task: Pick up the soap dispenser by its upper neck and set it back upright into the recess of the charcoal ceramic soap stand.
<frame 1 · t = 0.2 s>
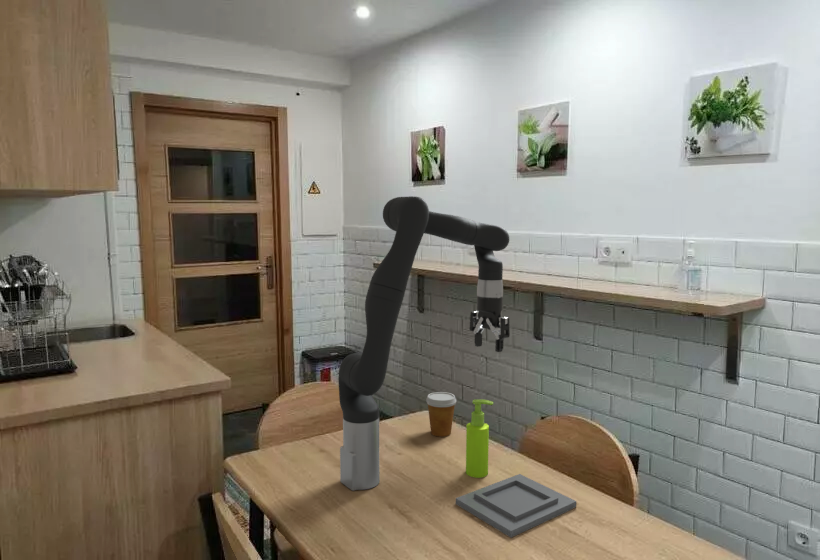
hand: (488, 348, 173), 29 cm above the table, tool pointing down, fingers open, 8 cm apart
disposable coffee cup: (440, 433, 184), on the table
soap dispenser: (478, 473, 156), on the table
soap stand: (515, 505, 139), on the table
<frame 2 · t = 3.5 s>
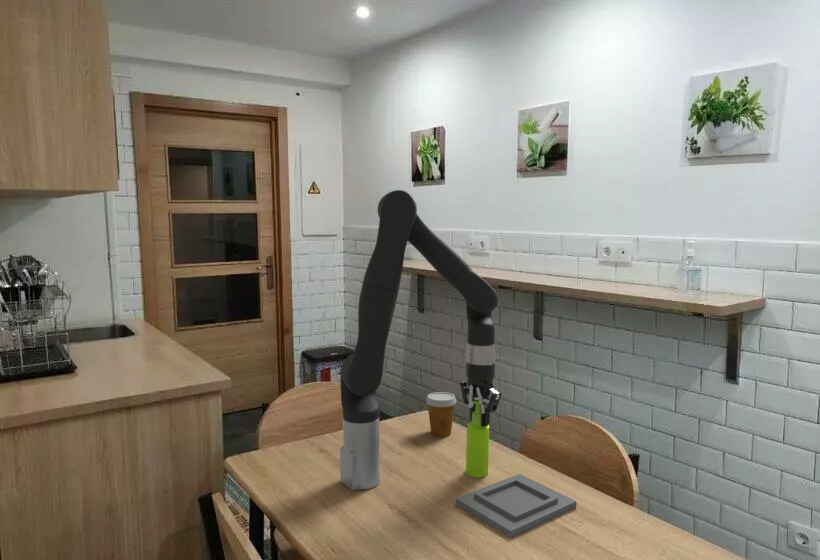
hand: (479, 423, 154), 14 cm above the table, tool pointing down, fingers closed on soap dispenser, 3 cm apart
soap dispenser: (478, 473, 156), on the table, touching gripper
everything else where it was.
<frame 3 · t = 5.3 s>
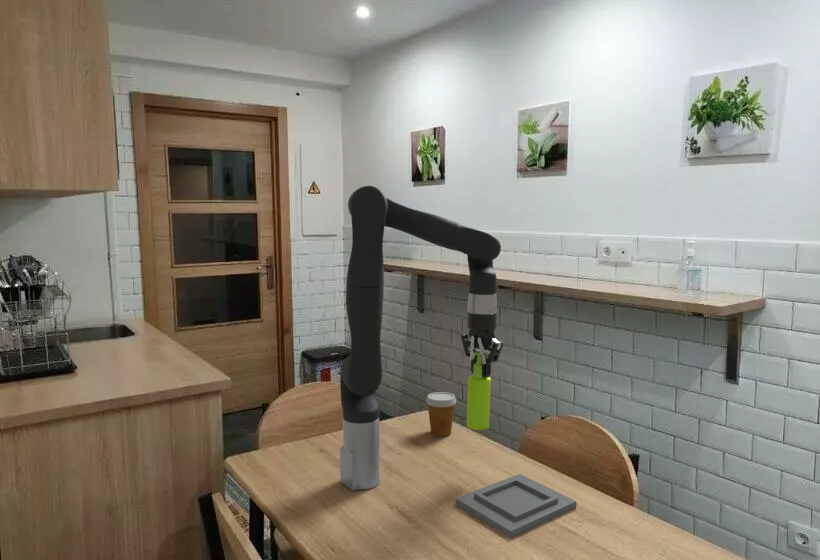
hand: (480, 375, 153), 27 cm above the table, tool pointing down, fingers closed on soap dispenser, 3 cm apart
soap dispenser: (479, 426, 154), point 13 cm above the table, touching gripper
everything else where it was.
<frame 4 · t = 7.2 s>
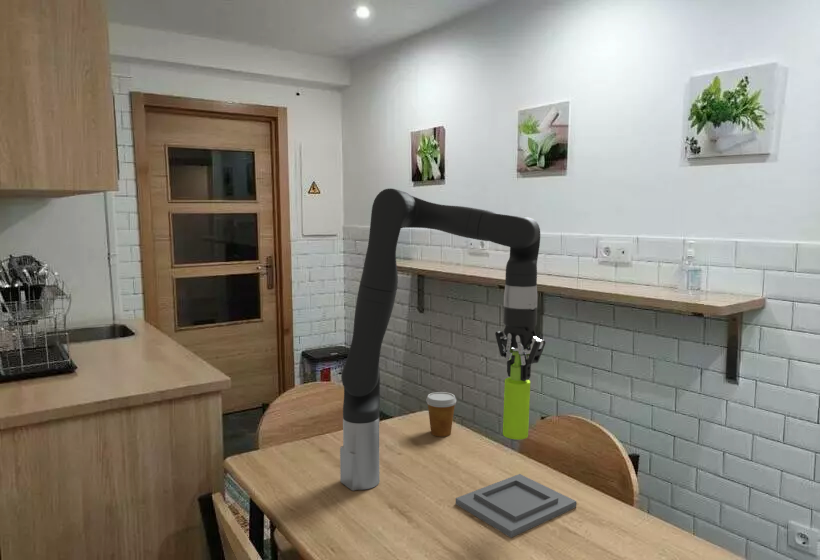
hand: (518, 377, 135), 31 cm above the table, tool pointing down, fingers closed on soap dispenser, 3 cm apart
soap dispenser: (517, 435, 137), point 17 cm above the table, touching gripper
everything else where it was.
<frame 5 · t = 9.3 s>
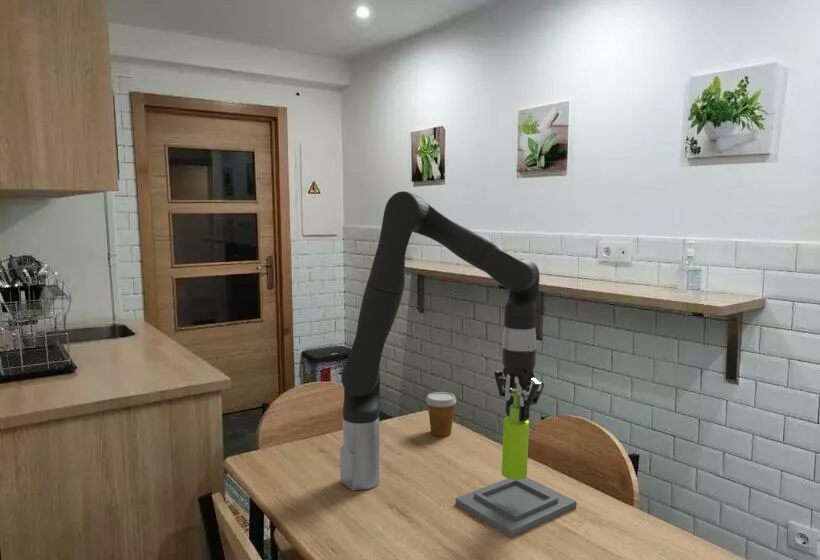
hand: (517, 418, 136), 21 cm above the table, tool pointing down, fingers closed on soap dispenser, 3 cm apart
soap dispenser: (516, 474, 138), point 8 cm above the table, touching gripper
everything else where it was.
when the fingers open (17 cm above the table, at t = 10.8 s): soap dispenser drops 2 cm, resting on soap stand.
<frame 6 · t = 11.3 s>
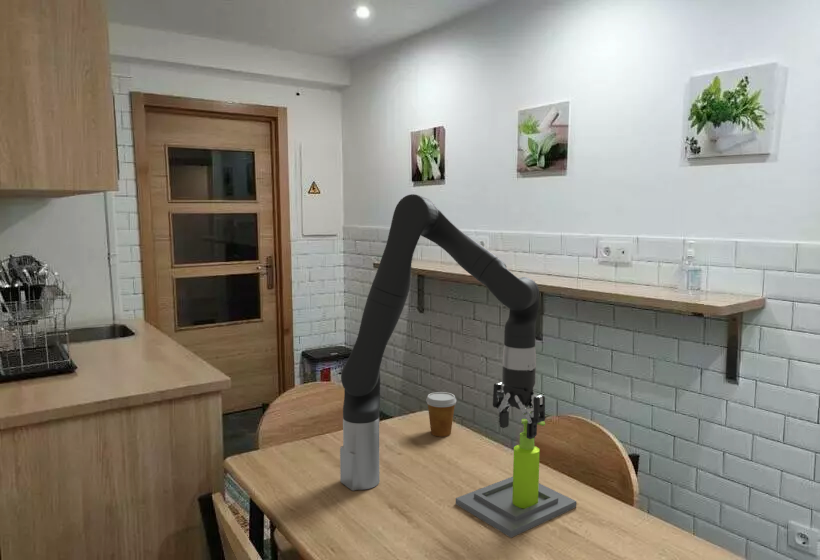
hand: (517, 432, 137), 18 cm above the table, tool pointing down, fingers open, 8 cm apart
soap dispenser: (527, 504, 137), point 1 cm above the table, touching gripper, soap stand
everything else where it was.
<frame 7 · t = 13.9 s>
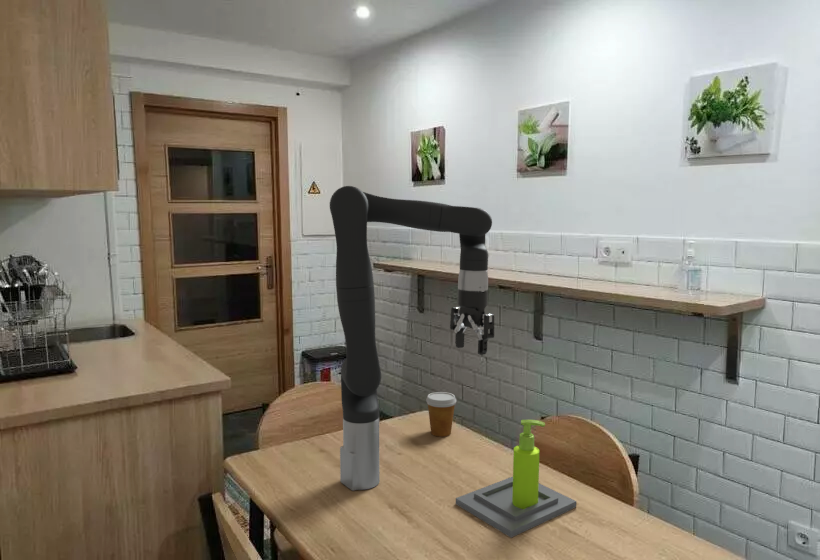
hand: (470, 350, 149), 34 cm above the table, tool pointing down, fingers open, 8 cm apart
soap dispenser: (527, 504, 137), point 1 cm above the table, touching soap stand
everything else where it was.
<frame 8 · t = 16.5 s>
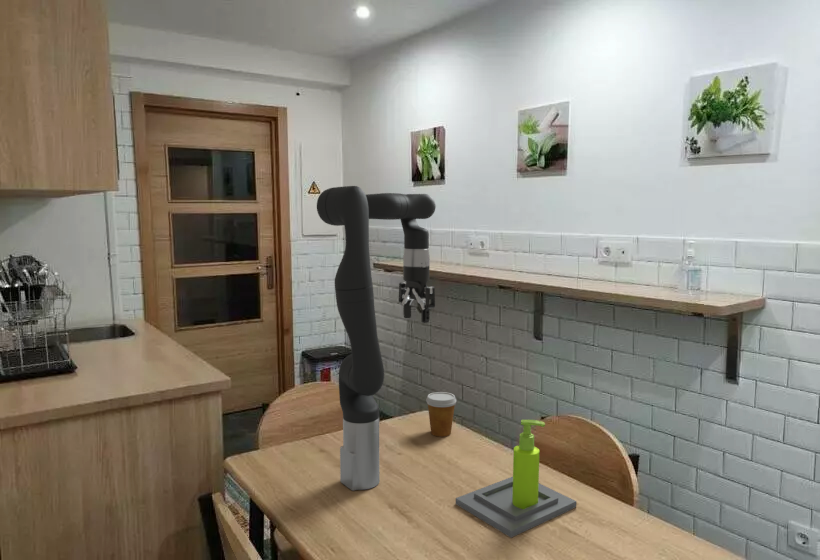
hand: (416, 320, 169), 38 cm above the table, tool pointing down, fingers open, 8 cm apart
nothing on the table moved.
at the end: soap dispenser 3.0 cm off-centre on the soap stand, point 1.3 cm above the soap stand's base; soap dispenser tilted 0°; the gripper is holding nothing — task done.
